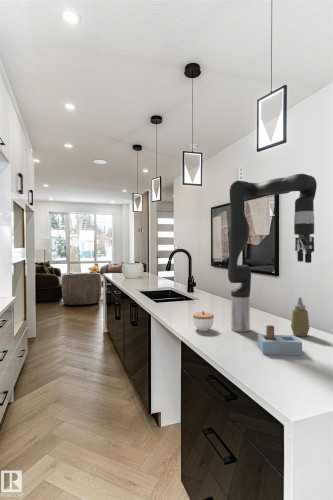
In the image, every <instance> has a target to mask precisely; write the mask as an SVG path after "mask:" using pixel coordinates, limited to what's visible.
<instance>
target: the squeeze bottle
mask: <svg viewBox="0 0 333 500" xmlns="http://www.w3.org/2000/svg"><path fill="white" fill-rule="evenodd" d="M290 328H291V332H292V333H293V335H294V336H295V337H302V338H303V337H307V336H308V335H309V334H308V333H309V331H310V320H309V311H308V310H307V309H306V305H305V304H304V303H303V298H302V297H298V299H297V303H296V304H294V309H292V314H291V323H290Z"/></svg>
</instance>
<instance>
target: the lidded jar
mask: <svg viewBox="0 0 333 500" xmlns="http://www.w3.org/2000/svg"><path fill="white" fill-rule="evenodd" d="M214 318H215V315H214V314H213V313H211V312H205V311H203V310H201V311H200V312H195V313H193V314H192V321H193V325H194V327H195V328H196V329H197V331H200V332H208V331H209V330H210V329H211V328H212V327H213V325H214Z"/></svg>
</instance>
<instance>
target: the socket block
mask: <svg viewBox="0 0 333 500" xmlns="http://www.w3.org/2000/svg"><path fill="white" fill-rule="evenodd" d="M297 337H298V336H296V335H294V334H293V335H292V334H291V335H289V334H286V335H285V334H283V335H282V334H274V340H266V334H257V347H258V349H259V350H260V352H261V354H262V355H277V356H278V355H281V356H282V355H283V356H284V355H286V356H303V342H302V341H301V340H300V339H299V338H297Z"/></svg>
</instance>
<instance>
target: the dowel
mask: <svg viewBox="0 0 333 500" xmlns="http://www.w3.org/2000/svg"><path fill="white" fill-rule="evenodd" d="M265 327H266V334H265V335H266V340H274V335H275V325H273V324H272V325H271V324H268V325H265Z"/></svg>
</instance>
